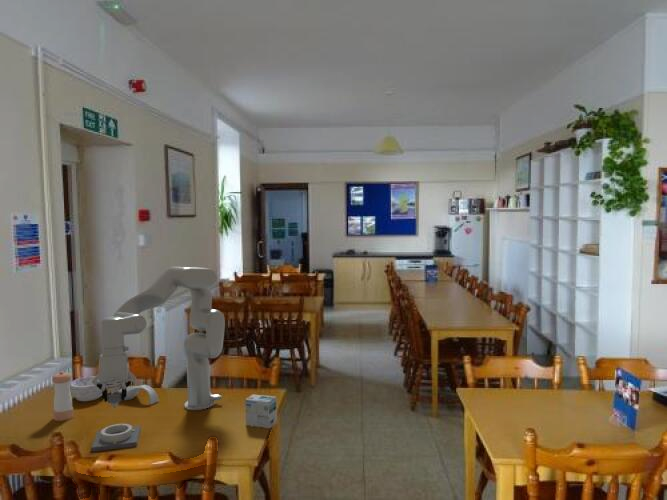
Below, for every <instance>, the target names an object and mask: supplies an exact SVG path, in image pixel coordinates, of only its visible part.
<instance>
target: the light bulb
mask: <svg viewBox="0 0 667 500" xmlns="http://www.w3.org/2000/svg"><path fill="white" fill-rule="evenodd" d="M112 380H113V379H109V380H108V381H112ZM106 384H107V385H106V387H107V388H106V389H107V391H109V392H107V402H106V403H108V404H110V406H111V407H112V408H117V407H118V406H119V403H120V402H121V401H123V400H122V392H121V391H119V390H121V389H122V384H121V382H119V380H116V381H112V382H108V383H106Z"/></svg>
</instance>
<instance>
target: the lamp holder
mask: <svg viewBox="0 0 667 500" xmlns="http://www.w3.org/2000/svg"><path fill="white" fill-rule="evenodd" d="M140 433H141V425H134V426H132V425H131V424H129V423H116V424H115V423H114V424H112V425H108V426H106V427H105V428H104V427H103V429H101V430H99V429H98V430H97V433H96V435H95V437H94V439H93V442H92V445H91V447H90V449H91V453H92V452H93V453H94V452H100V451H109V450H116V449H123V448H124V449H125V448H131V447H132V448H133V447H137V446H138V444H139V438H140Z"/></svg>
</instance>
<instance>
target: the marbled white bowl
mask: <svg viewBox="0 0 667 500" xmlns="http://www.w3.org/2000/svg"><path fill="white" fill-rule="evenodd" d="M96 376H97V375H96ZM96 376H95V375H93V376H85V377H80V378H77V379H74V380H72V381H71V382H70V393H71V397H74V398H75V399H76V400H77V401H79V402H92V401H95V400H97V399H100V398H102V391H101V389H99V388H98V387H97V386H96V385H94V384H93V383H92V381H93V379H94V378H95V377H96ZM97 381H98V382H99V379H98V380H97ZM99 383H100V382H99ZM101 384H102V385H103V383H101ZM106 388H107V387H106Z"/></svg>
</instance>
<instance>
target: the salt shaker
mask: <svg viewBox="0 0 667 500" xmlns="http://www.w3.org/2000/svg"><path fill="white" fill-rule="evenodd" d="M71 380H72V375H71V374H70V373H69V372H64V371H62V370H61V371H59V373H56V374H54V375H53V376H52V378H51V381H52V382H53V384H54V396H53V397H54V398H53V407H54V408H53V412H52V413H53V415H52V416H53V420H54V421H56V422H57V421H58V422H62V421H68V420H70V419H72V418H73V417H74V407H73V398H72V397H73V396H71V393H70V383H71V382H70V381H71Z"/></svg>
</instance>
